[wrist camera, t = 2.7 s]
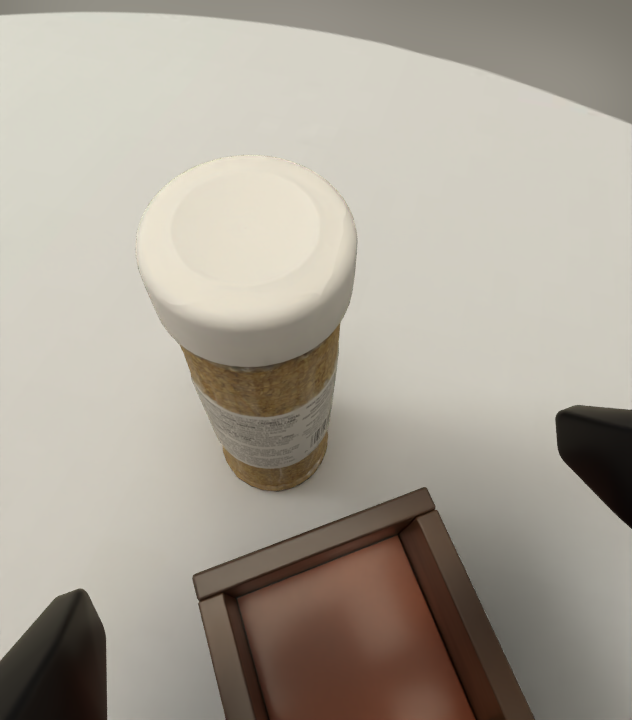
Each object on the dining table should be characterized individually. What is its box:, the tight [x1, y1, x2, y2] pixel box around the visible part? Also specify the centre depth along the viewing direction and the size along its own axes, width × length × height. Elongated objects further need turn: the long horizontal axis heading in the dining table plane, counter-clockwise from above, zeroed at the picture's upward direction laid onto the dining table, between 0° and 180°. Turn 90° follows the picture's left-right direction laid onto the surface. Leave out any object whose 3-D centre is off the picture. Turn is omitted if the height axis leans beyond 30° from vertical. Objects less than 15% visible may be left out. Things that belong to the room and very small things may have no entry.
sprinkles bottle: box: [135, 155, 357, 491], centre depth 16 cm, size 5×5×14 cm
